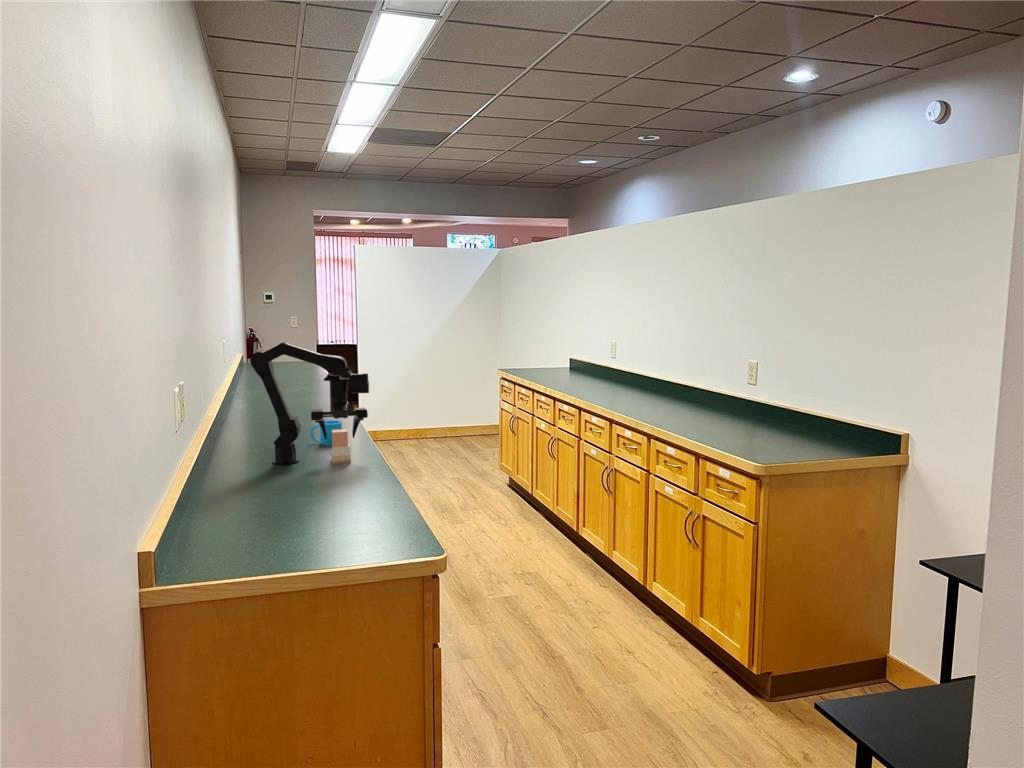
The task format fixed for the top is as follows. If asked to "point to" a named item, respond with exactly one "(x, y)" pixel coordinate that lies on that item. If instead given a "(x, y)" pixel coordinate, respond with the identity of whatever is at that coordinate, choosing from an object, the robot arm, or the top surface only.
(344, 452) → the slab upper
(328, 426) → the mug
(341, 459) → the slab lower
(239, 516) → the top surface
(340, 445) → the coral cube
